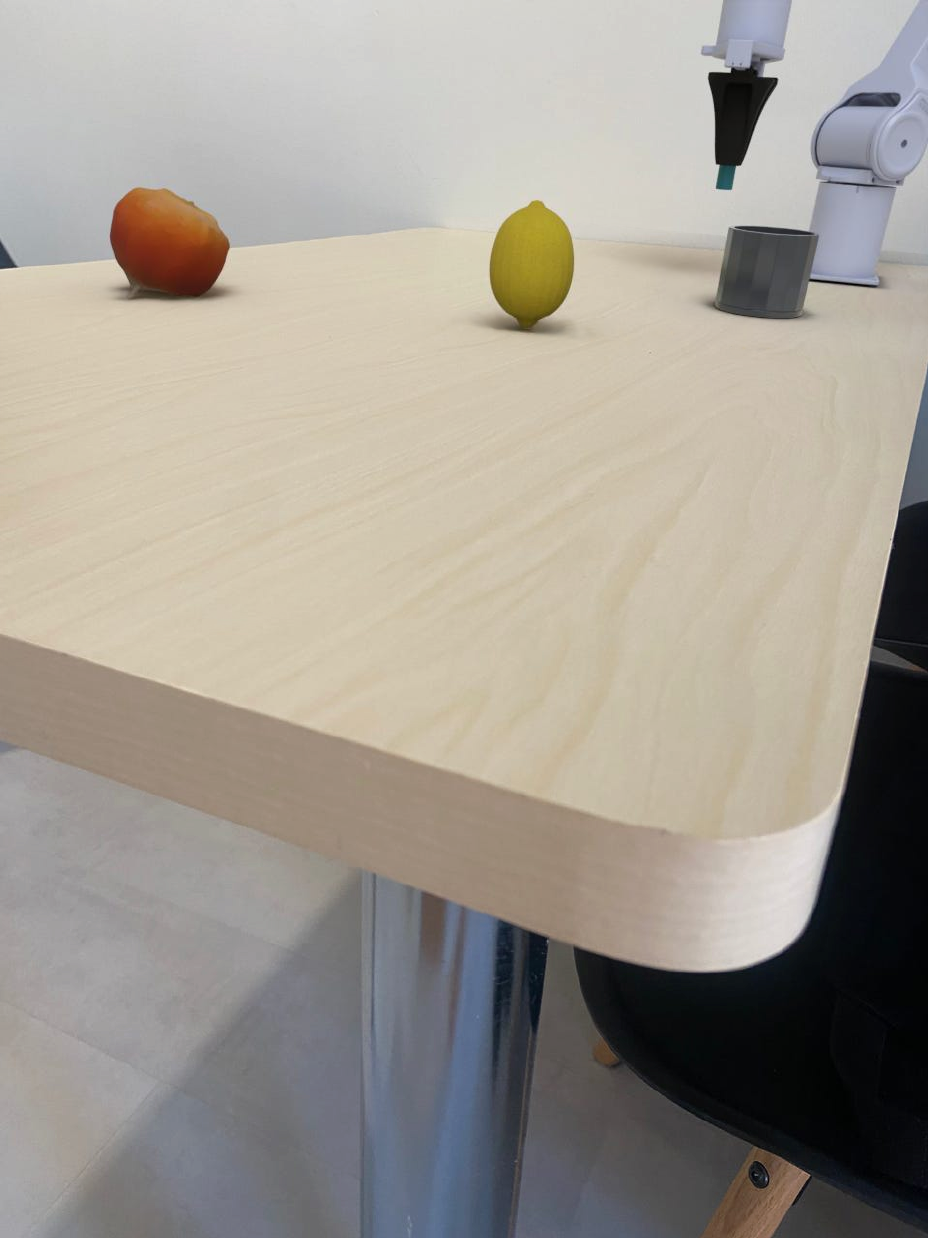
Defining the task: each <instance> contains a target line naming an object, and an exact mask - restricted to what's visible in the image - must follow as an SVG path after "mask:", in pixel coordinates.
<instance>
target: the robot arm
mask: <svg viewBox="0 0 928 1238" xmlns="http://www.w3.org/2000/svg"><path fill="white" fill-rule="evenodd" d="M792 3H793V0H722V5H721V12H720V16H719V17H720V18H719V24H718V29H717V35H716V43H715V44H714V45H709V44H707V45H701V50H700V55H702V56H703V57H712V58H714V59H719V60H723V61H724V64H723V67H724V68H726V69H727V68H728V69H730V71H729V72H728V71H727V72H725V71H709V72H708V74H707V81H708V85H709V89H710V93H711V97H712V104H713V112H714V160H715V162H714V163H715V165H716V166H717V165H718V166H719V165H729V166H736V167H740V166H742V165H743V163H744V160H745V158H746V155H747V153H748V151H749V147H750V144H751V141H752V138H753V135H754V132H755V129H756V127H757V124H758V121H759V119H760V117H761V115H762V113H763V110H764V108H765V106H766V105H767V103H768V101H769V99H770V98H771V95H772V94H773V93H774V91H775V89H776V88H777V87H778V83H779V78H778V77H774V76H772V77H770V76H764V72H765V67H766V65H767V64H771V63H775V62H780V61H783V60H784V57H785V52H786V49H785V48H784V45H785V41H786V34H787V30H788V24H789V19H790V13H791V8H792ZM927 147H928V0H919V1H918V3H917V4H916V6H915V7H914V9H913V10H912V12H911V14H909V17H908V18H907V20H906V22H905V24H904V25H903V27H902V28H901V30H900V32H899V34H898V35H897V37H896V38H895V40H894V41H893V43H892V45H891V46H890V47H889V49H888V51H887V53H886V54H885V56H884V58H883V59H882V61H881V62H880V64H879V65H878V66H877V67H876V68H874V69H873V70H871V71H870V72H869V73H867V74H866V75H864V76H862V77H861V78H860V79H857V81H855V82H854V83H853V84H851V85H850V86H849V87H848V88H847V89H846V91H845V93H844V94H843V96H842V97H841V98H840V99H839V101H838V103H836V104H835V105H834V106H832V107H831V108H830V109H828V110H827V111H826V112H825V113H824V114H823V115H822V116H821V117H820V119H819V121H818V122H817V123H816V125H815V127H814V130H813V133H812V136H811V140H810V157H811V161H812V163H813V166H814V167H815V169H817V171H816V176H815V179H816V180H820V181H819V182H818V187H817V192H816V196H815V200H814V205H813V210H812V215H811V219H810V222H809V229H808V231H811V232H815V233H819V239H818V243H817V248H816V252H815V257H814V261H813V266H812V270H811V275H810V279H809V280H819V281H829V282H837V283H838V282H839V283H848V284H856V285H857V284H858V285H868V286H878V285H880V278H879V276H878V273H877V266H878V263H879V259H880V254H881V251H882V246H883V242H884V239H885V234H886V230H887V226H888V224H889V220H890V215H891V211H892V207H893V202H894V199H895V196H896V192H897V188H898V186H899V187H903V186H904V182H905V178H907V177H908V176H909V175H910V174H911V173H912V172H914V171H915V170H916V168H917V167H918V165H919V164H920V162H921V161H922V159H923V157H924V155H925V152H926V149H927Z"/></svg>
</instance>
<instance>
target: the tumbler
mask: <svg viewBox="0 0 928 1238" xmlns="http://www.w3.org/2000/svg"><path fill="white" fill-rule="evenodd" d="M818 239H819V233H815V232H811V231H809V230H805V229H797V228H789V227H780V226H779V227H778V226H767V225H746V224H745V225H744V224H743V225H742V224H741V225H739V224H738V225H729V227H728V229H727V234H726V240H725V246H724V251H723V256H722V262H721V267H720V268H721V269H720V274H719V280H718V285H717V289H716V295H715V303H714V305H715V308H716V309H718V310H721V311H723V312H726V313H730V314H734V315H739V316H747V317H754V318H755V317H756V318H764V319H765V318H766V319H794V318H799V317H801V316H802V315H803V309H804V305H805V300H806V297H807V292H808V288H809V284H810V280H811V279H810V275H811V270H812V266H813V261H814V257H815V252H816V248H817V243H818Z"/></svg>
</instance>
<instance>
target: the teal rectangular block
mask: <svg viewBox="0 0 928 1238" xmlns="http://www.w3.org/2000/svg"><path fill="white" fill-rule="evenodd" d="M718 166H719V167H718V172H717V177H716V183H715V189H716V190H721V191H732V190H733V186H734V180H735V174H736V169H737V166H729V165H718Z"/></svg>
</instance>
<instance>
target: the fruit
mask: <svg viewBox="0 0 928 1238" xmlns="http://www.w3.org/2000/svg"><path fill="white" fill-rule="evenodd" d="M109 241H110V246H111V249H112V252H113V255H114V258H115V261H116V262H117V264H118V266H119V267H120V269H121V270H122V271H123V273H124V275H125V277H126V278H127V280H128V283H129V287H130V288H131V291H130V292H129V293H128V295H127V296H126V297H127V298H128V299H129V300H130V299H132V297H134V295H135V294H137V293H138V292H142V291H143V292H144V291H155V292H160V293H165V294H170V295H175V296H182V297H194V298H198V297H201V296H203V295H204V294H206V293H207V292H208V291H210V290H211V289H212V287H213V286H214V285H215V284H216V282H217V280H218V278H219V276H220V275H221V273H222V272H223V269H224V267H225V264H226V262H227V257H228V254H229V252H230V248H231V244H230V241H229V238H228V236H227V235H226V234H225V233H224V231H223V230H222V229H221V228H220V226H219V223H218V220H217V219H216V218H215V216H213V215H212V214H210V212H207V211H205V210H203V209H202V208H199V207H198V205H197V206H196V205H195V202H194V201H192V200H191V201H189V200H187V199H185V198H183V197H180V196H179V195H178V194H176V193H175V192H173V191H172V190H170V189H168V188H165V187H163V188H159V189H153V188H152V189H151V188H148V187H147V188H146V187H140V186H139V187H134V188H132V189H131V190H130V191H128V192H127V193H126V194H125V195H124V196H123V197H122V198H121V199H120V200H119V201H117V203H116V205H115V207H114V208H113V213H112V219H111V224H110V231H109Z"/></svg>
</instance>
